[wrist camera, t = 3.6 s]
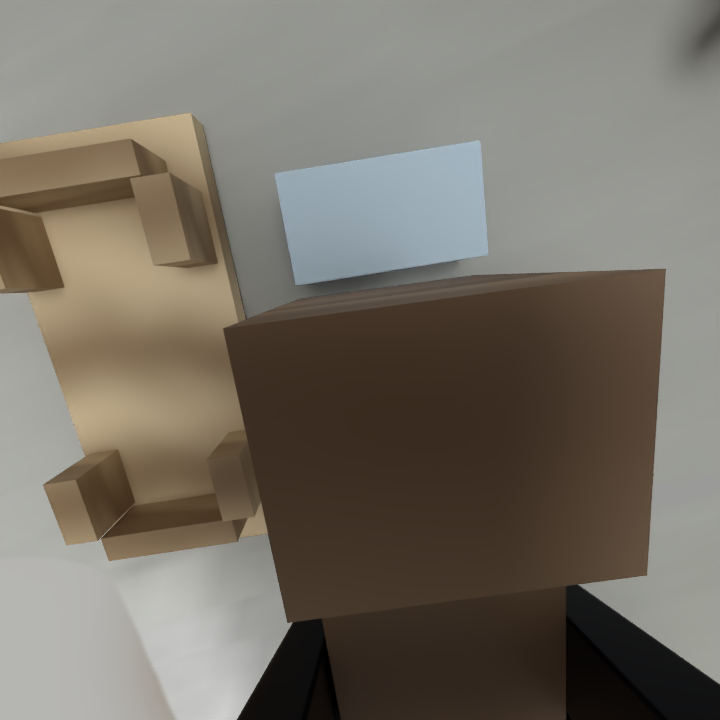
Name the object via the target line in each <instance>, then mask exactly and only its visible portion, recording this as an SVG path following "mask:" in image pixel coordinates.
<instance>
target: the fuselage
mask: <svg viewBox="0 0 720 720" xmlns="http://www.w3.org/2000/svg"><path fill="white" fill-rule="evenodd" d="M665 273H666V269H647V270H617V271H587V272H557V273H527V274H497V275H472V276H465V277H458V278H450V279H443V280H435V281H428V282H420V283H413V284H406V285H398V286H391V287H383V288H376V289H369V290H361V291H354V292H346V293H339V294H331V295H324V296H317V297H309V298H302V299H298V300H295V301H293V302H290V303H288V304H285V305H282V306H280V307H277V308H275V309H272V310H269V311H267V312H264V313H262V314H259V315H256V316H254V317H251V318H249V319H246V320H243V321H241V322H238V323H236V324H233V325H231V326H228V327H225V328H223V331H224V336H225V340H226V345H227V350H228V354H229V359H230V363H231V368H232V372H233V377H234V381H235V386H236V391H237V395H238V400H239V404H240V409H241V413H242V418H243V422H244V427H245V431H246V436H247V441H248V445H249V450H250V454H251V459H252V463H253V468H254V472H255V477H256V482H257V486H258V491H259V495H260V500H261V504H262V509H263V513H264V518H265V522H266V527H267V532H268V536H269V541H270V545H271V550H272V554H273V559H274V563H275V568H276V573H277V577H278V582H279V586H280V591H281V595H282V600H283V604H284V609H285V613H286V618H287V623H290V622H297V621H305V620H313V619H320V618H322V623H323V628H324V633H325V638H326V644H327V649H328V654H329V659H330V664H331V670H332V675H333V680H334V685H335V690H336V696H337V701H338V706H339V711H340V716H341V720H566V586H569V585H577V584H584V583H592V582H599V581H607V580H615V579H622V578H630V577H637V576H645V575H647V566H648V550H649V534H650V517H651V501H652V485H653V469H654V452H655V436H656V420H657V403H658V387H659V371H660V354H661V338H662V322H663V306H664V289H665Z"/></svg>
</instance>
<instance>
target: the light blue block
mask: <svg viewBox="0 0 720 720" xmlns="http://www.w3.org/2000/svg"><path fill="white" fill-rule="evenodd" d="M274 174H275V179H276V185H277V190H278V195H279V200H280V206H281V211H282V216H283V221H284V227H285V232H286V237H287V243H288V248H289V253H290V258H291V264H292V269H293V274H294V279H295V285H307V284H313V283H320V282H326V281H332V280H339V279H345V278H351V277H358V276H364V275H370V274H377V273H383V272H389V271H396V270H402V269H408V268H415V267H421V266H427V265H434V264H440V263H446V262H453V261H459V260H464V259H469V258H475V257H480V256H485V255H488V242H487V227H486V213H485V199H484V185H483V171H482V157H481V143H480V140H479V141H473V142H467V143H460V144H454V145H448V146H442V147H436V148H429V149H423V150H417V151H411V152H404V153H398V154H392V155H386V156H380V157H373V158H367V159H361V160H355V161H349V162H342V163H336V164H330V165H324V166H317V167H311V168H305V169H299V170H293V171H286V172H280V173H274Z"/></svg>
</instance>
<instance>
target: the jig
mask: <svg viewBox="0 0 720 720" xmlns="http://www.w3.org/2000/svg"><path fill="white" fill-rule="evenodd" d="M0 293H28V295H29V298H30V301H31V304H32V307H33V310H34V312H35V315H36V318H37V321H38V324H39V327H40V329H41V332H42V335H43V338H44V341H45V344H46V346H47V349H48V352H49V355H50V358H51V361H52V363H53V366H54V369H55V372H56V375H57V378H58V380H59V383H60V386H61V389H62V392H63V395H64V397H65V400H66V403H67V406H68V409H69V412H70V414H71V417H72V420H73V423H74V426H75V429H76V431H77V434H78V437H79V440H80V443H81V446H82V448H83V451H84V454H85V457H84V458H83V459H81V460H80V461H78V462H77V463H75V464H74V465H72V466H71V467H69V468H68V469H66V470H65V471H63V472H62V473H60V474H59V475H57V476H56V477H54V478H53V479H51V480H50V481H48V482H47V483H45V484H44V485H43V486H44V489H45V491H46V494H47V497H48V499H49V502H50V504H51V507H52V509H53V512H54V515H55V517H56V520H57V522H58V525H59V527H60V530H61V533H62V535H63V538H64V540H65V543H66V545H72V544H79V543H85V542H92V541H98V540H99V539H100V538H101V537H102V536H103V535H104V534H105V533H106V532H107V531H108V530H109V529H110V528H111V529H110V530H109V531H108V532H107V533H106V534H105V535H104V536H103V537H102V538H101V540H102V543H103V546H104V549H105V551H106V554H107V557H108V560H109V561H112V560H119V559H126V558H132V557H139V556H146V555H152V554H159V553H165V552H172V551H179V550H185V549H192V548H199V547H205V546H212V545H218V544H225V543H232V542H238V539H239V538H241V537H248V536H255V535H261V534H268V532H267V527H266V522H265V518H264V513H263V509H262V504H261V500H260V495H259V491H258V486H257V482H256V477H255V472H254V468H253V463H252V459H251V454H250V450H249V445H248V441H247V436H246V431H245V427H244V422H243V418H242V413H241V409H240V404H239V400H238V395H237V391H236V386H235V381H234V377H233V372H232V368H231V363H230V359H229V354H228V350H227V345H226V340H225V336H224V331H223V328H225V327H228V326H231V325H233V324H236V323H238V322H241V321H243V320H246V318H245V313H244V309H243V304H242V300H241V295H240V291H239V287H238V282H237V278H236V273H235V269H234V264H233V260H232V255H231V251H230V246H229V242H228V237H227V233H226V228H225V224H224V219H223V215H222V210H221V206H220V201H219V197H218V192H217V188H216V184H215V179H214V175H213V170H212V166H211V161H210V157H209V152H208V148H207V143H206V139H205V134H204V130H203V125H202V124H201V123H200V122H199V121H198V120H197V119H196V118H195V117H194V116H193V115H192V114H191V113H186V114H180V115H174V116H168V117H161V118H155V119H149V120H143V121H137V122H130V123H124V124H118V125H112V126H105V127H99V128H93V129H87V130H81V131H74V132H68V133H62V134H56V135H49V136H43V137H37V138H31V139H25V140H18V141H12V142H6V143H0Z"/></svg>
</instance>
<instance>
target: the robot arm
mask: <svg viewBox="0 0 720 720" xmlns="http://www.w3.org/2000/svg"><path fill="white" fill-rule="evenodd" d="M237 720H341V716H340V711H339V706H338V701H337V696H336V690H335V685H334V680H333V675H332V670H331V664H330V659H329V654H328V649H327V644H326V638H325V633H324V628H323V623H322V618H320V619H313V620H305V621H297V622H293V623H292V625H291V627H290V629H289V630H288V632H287V634H286V636H285V637H284V639H283V641H282V642H281V644H280V646H279V648H278V649H277V651H276V653H275V655H274V656H273V658H272V660H271V662H270V663H269V665H268V667H267V668H266V670H265V672H264V674H263V675H262V677H261V679H260V681H259V682H258V684H257V686H256V688H255V689H254V691H253V693H252V694H251V696H250V698H249V700H248V701H247V703H246V705H245V707H244V708H243V710H242V712H241V714H240V715H239V717H238V719H237ZM566 720H720V684H719V683H717V682H716V681H714V680H713V679H711V678H710V677H709V676H707V675H706V674H704V673H703V672H701V671H700V670H699V669H697V668H696V667H694V666H693V665H692V664H690V663H689V662H687V661H686V660H684V659H683V658H682V657H680V656H679V655H677V654H676V653H674V652H673V651H672V650H670V649H669V648H667V647H666V646H664V645H663V644H662V643H660V642H659V641H657V640H656V639H655V638H653V637H652V636H650V635H649V634H647V633H646V632H645V631H643V630H642V629H640V628H639V627H637V626H636V625H635V624H633V623H632V622H630V621H629V620H628V619H626V618H625V617H623V616H622V615H620V614H619V613H618V612H616V611H615V610H613V609H612V608H610V607H609V606H608V605H606V604H605V603H603V602H602V601H600V600H599V599H598V598H596V597H595V596H593V595H592V594H591V593H589V592H588V591H586V590H585V589H583V588H582V587H581V586H579V585H578V584H577V585H569V586H566Z"/></svg>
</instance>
